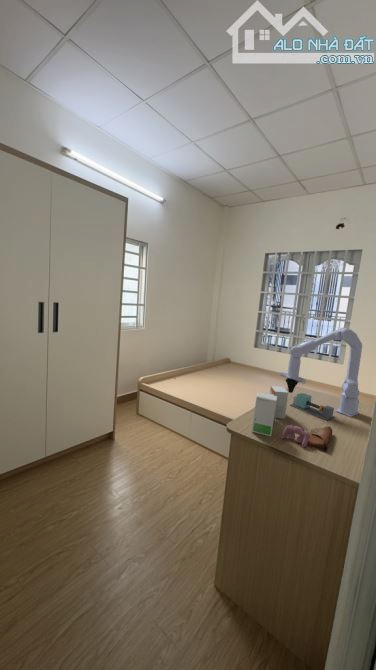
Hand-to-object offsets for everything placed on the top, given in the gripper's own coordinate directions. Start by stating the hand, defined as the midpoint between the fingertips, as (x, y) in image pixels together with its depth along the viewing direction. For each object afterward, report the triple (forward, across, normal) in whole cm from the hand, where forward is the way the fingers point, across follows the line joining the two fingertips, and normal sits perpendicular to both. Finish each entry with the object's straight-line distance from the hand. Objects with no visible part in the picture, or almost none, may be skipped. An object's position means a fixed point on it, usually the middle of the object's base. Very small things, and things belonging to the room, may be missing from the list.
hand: (290, 392), depth 152 cm
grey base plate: (+6, +13, 0) cm, 14 cm away
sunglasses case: (+6, +31, -25) cm, 41 cm away
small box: (+6, +7, -21) cm, 23 cm away
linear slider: (+6, +13, 0) cm, 14 cm away
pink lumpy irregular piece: (+6, +27, -36) cm, 45 cm away
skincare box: (+6, +15, -41) cm, 44 cm away
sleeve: (+6, +8, 0) cm, 10 cm away
